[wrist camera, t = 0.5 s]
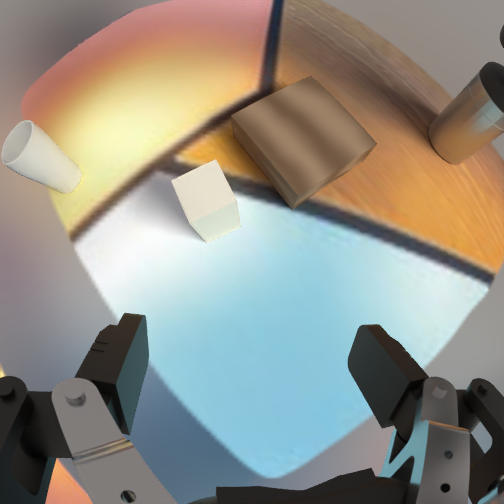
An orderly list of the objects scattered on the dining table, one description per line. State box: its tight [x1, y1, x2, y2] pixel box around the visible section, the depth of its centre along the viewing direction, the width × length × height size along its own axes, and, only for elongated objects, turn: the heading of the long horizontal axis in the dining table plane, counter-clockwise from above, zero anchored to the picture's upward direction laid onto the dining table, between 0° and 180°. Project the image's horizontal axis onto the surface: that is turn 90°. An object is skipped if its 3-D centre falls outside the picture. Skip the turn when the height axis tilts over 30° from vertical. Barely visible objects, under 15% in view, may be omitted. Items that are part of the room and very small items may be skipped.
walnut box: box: [231, 76, 377, 209], centre depth 37 cm, size 14×14×6 cm
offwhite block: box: [171, 160, 241, 243], centre depth 33 cm, size 5×5×11 cm
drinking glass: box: [1, 120, 82, 194], centre depth 32 cm, size 7×7×15 cm
